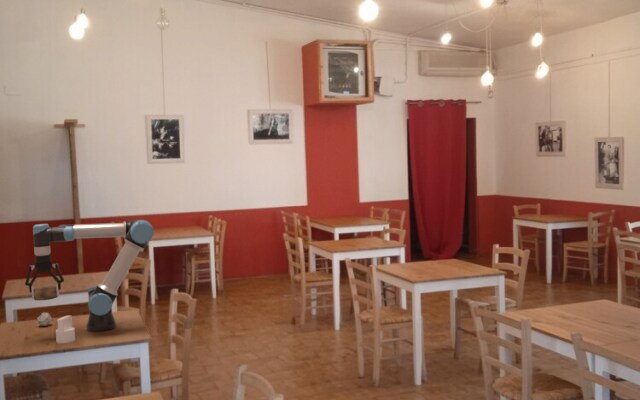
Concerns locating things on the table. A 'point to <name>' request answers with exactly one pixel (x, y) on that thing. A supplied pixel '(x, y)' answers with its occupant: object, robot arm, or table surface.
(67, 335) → the white stepped block
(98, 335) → the table surface
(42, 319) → the game die
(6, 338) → the table surface
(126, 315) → the table surface
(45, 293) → the walnut lid
